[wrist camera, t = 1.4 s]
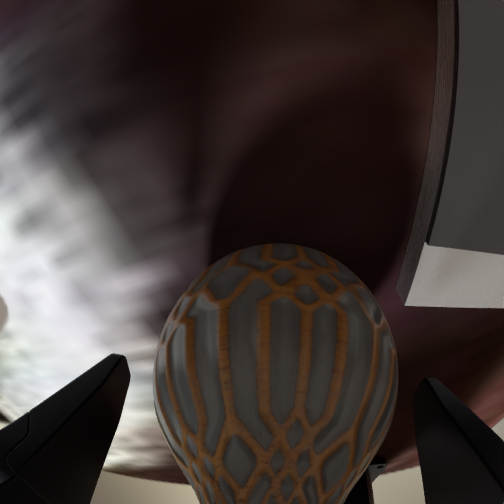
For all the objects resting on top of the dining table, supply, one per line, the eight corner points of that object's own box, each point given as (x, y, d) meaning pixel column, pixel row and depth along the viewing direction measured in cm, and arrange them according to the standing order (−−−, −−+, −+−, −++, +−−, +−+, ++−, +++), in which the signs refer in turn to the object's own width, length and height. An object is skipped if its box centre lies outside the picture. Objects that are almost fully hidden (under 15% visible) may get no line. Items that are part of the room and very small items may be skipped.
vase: (337, 185, 10) (468, 420, 2) (381, 336, 13) (434, 530, 5) (156, 254, 12) (28, 460, 4) (234, 378, 14) (205, 558, 6)
